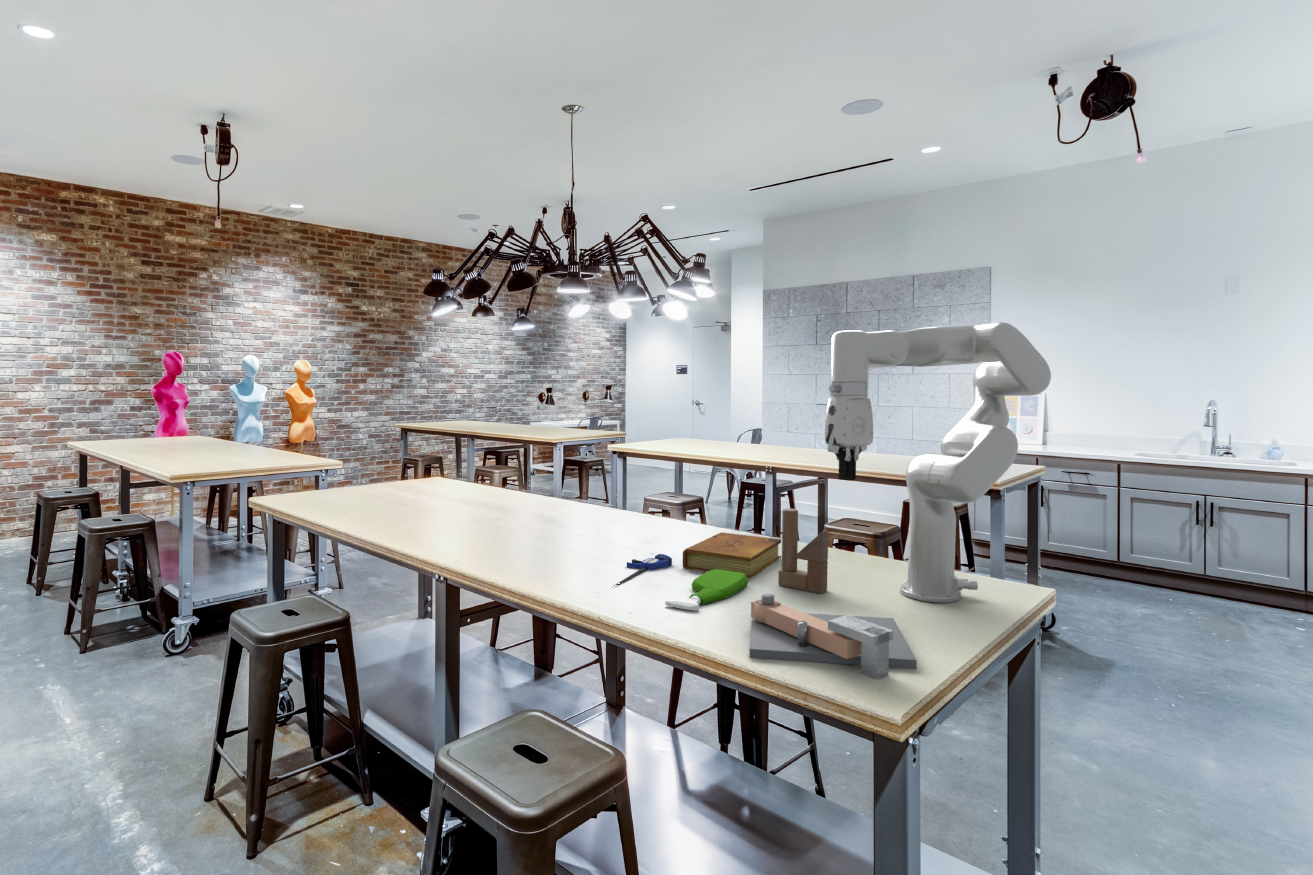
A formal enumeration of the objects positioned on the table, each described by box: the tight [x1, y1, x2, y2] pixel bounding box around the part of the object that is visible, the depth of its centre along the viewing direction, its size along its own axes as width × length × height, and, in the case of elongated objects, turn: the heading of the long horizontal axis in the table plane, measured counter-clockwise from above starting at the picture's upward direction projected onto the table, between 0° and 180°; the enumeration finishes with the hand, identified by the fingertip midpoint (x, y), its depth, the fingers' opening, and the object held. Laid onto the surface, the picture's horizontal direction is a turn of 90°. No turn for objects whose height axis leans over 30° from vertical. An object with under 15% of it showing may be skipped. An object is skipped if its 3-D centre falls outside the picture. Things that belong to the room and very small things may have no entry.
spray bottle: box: [664, 569, 749, 612], centre depth 145 cm, size 3×11×24 cm
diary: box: [682, 531, 782, 579], centre depth 172 cm, size 23×19×6 cm
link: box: [750, 593, 862, 659], centre depth 115 cm, size 24×5×4 cm, turn 33°
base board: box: [749, 612, 918, 670], centre depth 118 cm, size 27×20×2 cm
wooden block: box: [777, 508, 829, 595], centre depth 149 cm, size 4×11×18 cm, turn 52°
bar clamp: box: [613, 553, 673, 586], centre depth 160 cm, size 32×2×10 cm
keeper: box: [798, 614, 893, 680], centre depth 108 cm, size 14×7×7 cm, turn 35°
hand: (847, 479), depth 135 cm, fingers closed
